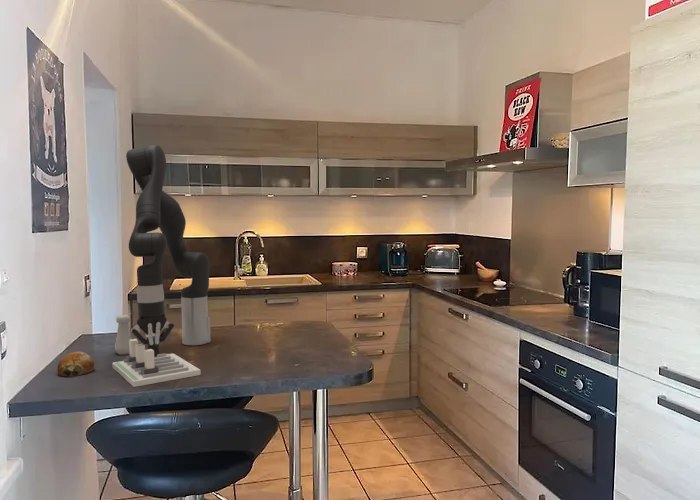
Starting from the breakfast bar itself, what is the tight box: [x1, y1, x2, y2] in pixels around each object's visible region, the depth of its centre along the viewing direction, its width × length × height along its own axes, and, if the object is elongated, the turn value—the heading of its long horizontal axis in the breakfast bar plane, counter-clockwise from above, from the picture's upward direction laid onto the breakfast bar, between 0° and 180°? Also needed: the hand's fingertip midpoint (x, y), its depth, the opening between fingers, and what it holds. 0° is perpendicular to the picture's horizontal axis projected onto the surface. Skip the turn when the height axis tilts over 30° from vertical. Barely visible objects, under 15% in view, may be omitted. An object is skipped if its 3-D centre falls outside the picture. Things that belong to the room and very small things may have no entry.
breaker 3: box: [141, 348, 158, 376], centre depth 160 cm, size 4×3×7 cm
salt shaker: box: [114, 314, 133, 356], centre depth 190 cm, size 6×6×13 cm
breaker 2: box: [132, 343, 146, 370], centre depth 166 cm, size 4×3×7 cm
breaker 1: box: [125, 338, 139, 363], centre depth 173 cm, size 4×3×7 cm
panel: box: [112, 353, 202, 388], centre depth 169 cm, size 19×24×2 cm
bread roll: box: [57, 351, 95, 377], centre depth 168 cm, size 10×10×8 cm
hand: (153, 356), depth 168 cm, fingers closed
